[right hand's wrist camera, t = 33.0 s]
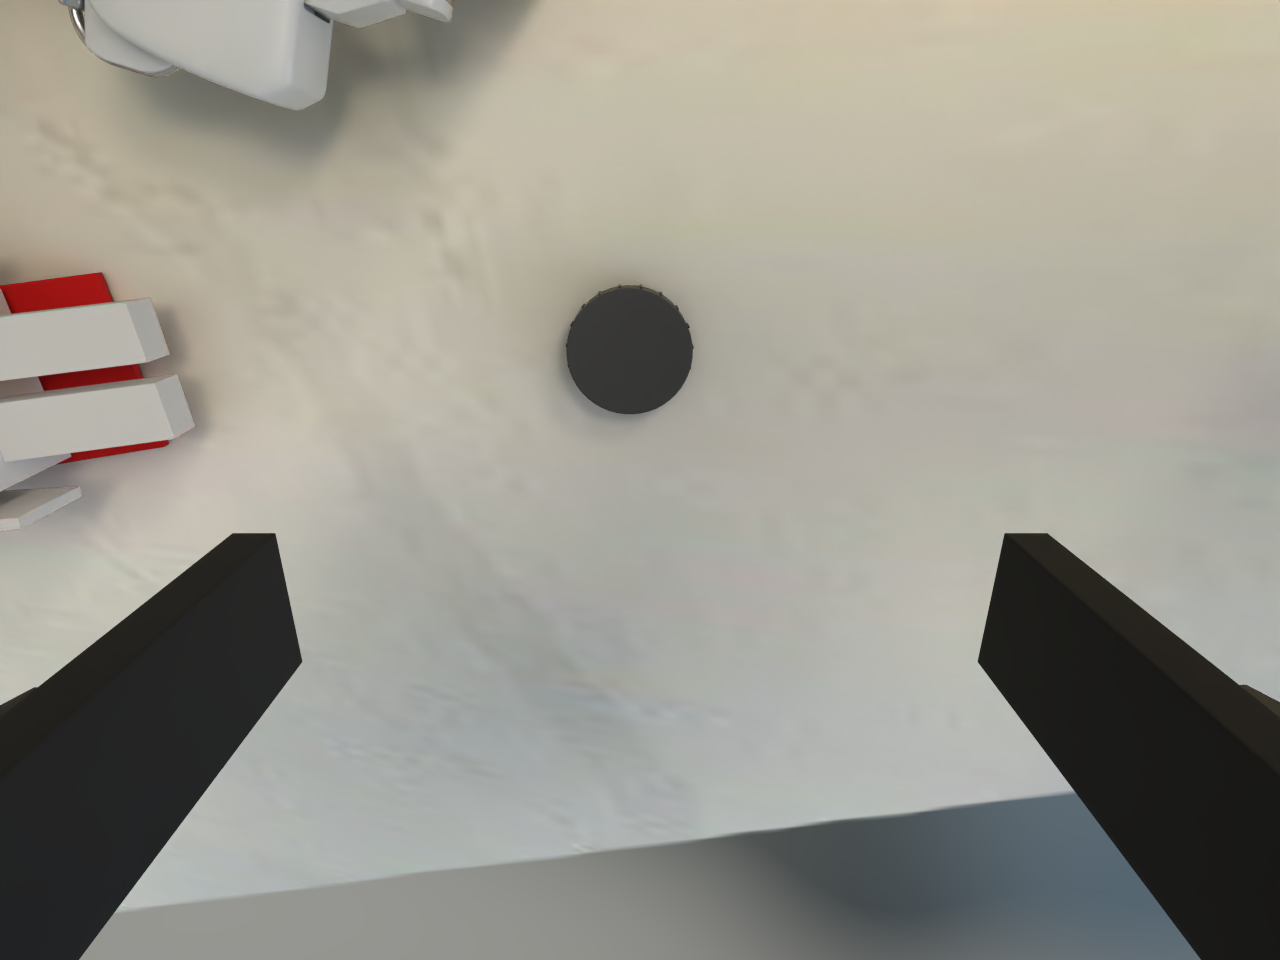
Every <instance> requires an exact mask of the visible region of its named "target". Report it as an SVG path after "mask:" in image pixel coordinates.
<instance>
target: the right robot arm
mask: <svg viewBox="0 0 1280 960" xmlns="http://www.w3.org/2000/svg"><path fill="white" fill-rule="evenodd" d="M301 663H302V658H301V653H300V648H299V644H298V639H297V634H296V629H295V625H294V620H293V615H292V610H291V606H290V601H289V596H288V591H287V587H286V582H285V577H284V572H283V568H282V563H281V558H280V553H279V549H278V544H277V539H276V534H275V533H233V534H231V535H230V536H229V537H228V538H226V539H225V540H224V541H222V542H221V543H220V544H219V545H217V546H216V547H215V548H214V549H212V550H211V551H210V552H209V553H207V554H206V555H205V556H204V557H202V558H201V559H200V560H198V561H197V562H196V563H195V564H193V565H192V566H191V567H190V568H188V569H187V570H186V571H185V572H183V573H182V574H181V575H179V576H178V577H177V578H176V579H174V580H173V581H172V582H171V583H169V584H168V585H167V586H166V587H164V588H163V589H162V590H161V591H159V592H158V593H157V594H155V595H154V596H153V597H152V598H150V599H149V600H148V601H147V602H145V603H144V604H143V605H142V606H140V607H139V608H138V609H136V610H135V611H134V612H133V613H131V614H130V615H129V616H128V617H126V618H125V619H124V620H123V621H121V622H120V623H119V624H118V625H116V626H115V627H114V628H112V629H111V630H110V631H109V632H107V633H106V634H105V635H104V636H102V637H101V638H100V639H99V640H97V641H96V642H95V643H93V644H92V645H91V646H90V647H88V648H87V649H86V650H85V651H83V652H82V653H81V654H80V655H78V656H77V657H76V658H74V659H73V660H72V661H71V662H69V663H68V664H67V665H66V666H64V667H63V668H62V669H61V670H59V671H58V672H57V673H56V674H54V675H53V676H52V677H50V678H49V679H48V680H47V681H45V682H44V683H43V684H42V685H40V686H39V687H34V688H32V689H30V690H29V691H27V692H25V693H23V694H21V695H19V696H17V697H15V698H13V699H11V700H10V701H8V702H6V703H4V704H2V705H0V960H79V959H80V957H81V956H82V955H83V953H84V952H85V951H86V949H87V948H88V947H89V945H90V944H91V943H92V941H93V940H94V939H95V937H96V936H97V935H98V933H99V932H100V931H101V929H102V928H103V927H104V925H105V924H106V923H107V921H108V920H109V919H110V917H111V916H112V915H113V913H114V912H115V911H116V909H117V908H118V907H119V905H120V904H121V903H122V901H123V900H124V899H125V897H126V896H127V895H128V893H129V892H130V891H131V889H132V888H133V887H134V885H135V884H136V883H137V881H138V880H139V879H140V877H141V876H142V875H143V873H144V872H145V871H146V869H147V868H148V867H149V865H150V864H151V863H152V861H153V860H154V859H155V857H156V856H157V855H158V853H159V852H160V851H161V849H162V848H163V847H164V845H165V844H166V843H167V841H168V840H169V839H170V837H171V836H172V835H173V833H174V832H175V831H176V829H177V828H178V827H179V825H180V824H181V823H182V821H183V820H184V819H185V817H186V816H187V815H188V813H189V812H190V811H191V809H192V808H193V807H194V805H195V804H196V803H197V801H198V800H199V799H200V797H201V796H202V795H203V793H204V792H205V791H206V789H207V788H208V787H209V785H210V784H211V783H212V781H213V780H214V779H215V777H216V776H217V775H218V773H219V772H220V771H221V769H222V768H223V767H224V765H225V764H226V763H227V761H228V760H229V759H230V757H231V756H232V755H233V753H234V752H235V751H236V749H237V748H238V747H239V745H240V744H241V743H242V741H243V740H244V739H245V737H246V736H247V735H248V733H249V732H250V731H251V729H252V728H253V727H254V725H255V724H256V723H257V721H258V720H259V719H260V717H261V716H262V715H263V713H264V712H265V711H266V709H267V708H268V707H269V705H270V704H271V703H272V701H273V700H274V699H275V697H276V696H277V695H278V693H279V692H280V691H281V689H282V688H283V687H284V685H285V684H286V683H287V681H288V680H289V679H290V677H291V676H292V675H293V673H294V672H295V671H296V669H297V668H298V667H299V665H300V664H301ZM978 663H979V664H980V665H981V667H982V668H983V669H984V671H985V672H986V673H987V675H988V676H989V677H990V679H991V680H992V681H993V683H994V684H995V685H996V687H997V688H998V689H999V691H1000V692H1001V693H1002V695H1003V696H1004V697H1005V699H1006V700H1007V701H1008V703H1009V704H1010V705H1011V707H1012V708H1013V709H1014V711H1015V712H1016V713H1017V715H1018V716H1019V717H1020V719H1021V720H1022V721H1023V723H1024V724H1025V725H1026V727H1027V728H1028V729H1029V731H1030V732H1031V733H1032V735H1033V736H1034V737H1035V739H1036V740H1037V741H1038V743H1039V744H1040V745H1041V747H1042V748H1043V749H1044V751H1045V752H1046V753H1047V755H1048V756H1049V757H1050V759H1051V760H1052V761H1053V763H1054V764H1055V765H1056V767H1057V768H1058V769H1059V771H1060V772H1061V773H1062V775H1063V776H1064V777H1065V779H1066V780H1067V781H1068V783H1069V784H1070V785H1071V787H1072V788H1073V789H1074V791H1075V792H1076V793H1077V795H1078V796H1079V797H1080V799H1081V800H1082V801H1083V803H1084V804H1085V805H1086V807H1087V808H1088V809H1089V811H1090V812H1091V813H1092V815H1093V816H1094V817H1095V819H1096V820H1097V821H1098V823H1099V824H1100V825H1101V827H1102V828H1103V829H1104V831H1105V832H1106V833H1107V835H1108V836H1109V837H1110V839H1111V840H1112V841H1113V843H1114V844H1115V845H1116V847H1117V848H1118V849H1119V851H1120V852H1121V853H1122V855H1123V856H1124V857H1125V859H1126V860H1127V861H1128V863H1129V864H1130V865H1131V867H1132V868H1133V869H1134V871H1135V872H1136V873H1137V875H1138V876H1139V877H1140V879H1141V880H1142V881H1143V883H1144V884H1145V885H1146V887H1147V888H1148V889H1149V891H1150V892H1151V893H1152V895H1153V896H1154V897H1155V899H1156V900H1157V901H1158V903H1159V904H1160V905H1161V907H1162V908H1163V909H1164V911H1165V912H1166V913H1167V915H1168V916H1169V917H1170V919H1171V920H1172V921H1173V923H1174V924H1175V925H1176V927H1177V928H1178V929H1179V931H1180V932H1181V933H1182V935H1183V936H1184V937H1185V939H1186V940H1187V941H1188V943H1189V944H1190V945H1191V947H1192V948H1193V949H1194V951H1195V952H1196V953H1197V955H1198V956H1199V957H1200V959H1201V960H1280V702H1278V701H1276V700H1274V699H1272V698H1270V697H1269V696H1267V695H1265V694H1263V693H1261V692H1259V691H1257V690H1255V689H1253V688H1251V687H1249V686H1248V685H1238V684H1237V683H1236V682H1235V681H1233V680H1232V679H1231V678H1230V677H1228V676H1227V675H1226V674H1224V673H1223V672H1222V671H1221V670H1219V669H1218V668H1217V667H1216V666H1214V665H1213V664H1212V663H1211V662H1209V661H1208V660H1207V659H1205V658H1204V657H1203V656H1202V655H1200V654H1199V653H1198V652H1197V651H1195V650H1194V649H1193V648H1192V647H1190V646H1189V645H1188V644H1187V643H1185V642H1184V641H1183V640H1181V639H1180V638H1179V637H1178V636H1176V635H1175V634H1174V633H1173V632H1171V631H1170V630H1169V629H1168V628H1166V627H1165V626H1164V625H1162V624H1161V623H1160V622H1159V621H1157V620H1156V619H1155V618H1154V617H1152V616H1151V615H1150V614H1149V613H1147V612H1146V611H1145V610H1144V609H1142V608H1141V607H1140V606H1138V605H1137V604H1136V603H1135V602H1133V601H1132V600H1131V599H1130V598H1128V597H1127V596H1126V595H1125V594H1123V593H1122V592H1121V591H1119V590H1118V589H1117V588H1116V587H1114V586H1113V585H1112V584H1111V583H1109V582H1108V581H1107V580H1106V579H1104V578H1103V577H1102V576H1101V575H1099V574H1098V573H1097V572H1095V571H1094V570H1093V569H1092V568H1090V567H1089V566H1088V565H1087V564H1085V563H1084V562H1083V561H1082V560H1080V559H1079V558H1078V557H1076V556H1075V555H1074V554H1073V553H1071V552H1070V551H1069V550H1068V549H1066V548H1065V547H1064V546H1063V545H1061V544H1060V543H1059V542H1058V541H1056V540H1055V539H1054V538H1052V537H1051V536H1050V535H1049V534H1047V533H1005V534H1004V539H1003V544H1002V549H1001V553H1000V558H999V563H998V568H997V572H996V577H995V582H994V587H993V591H992V596H991V601H990V606H989V610H988V615H987V620H986V625H985V629H984V634H983V639H982V644H981V648H980V653H979V658H978Z"/></svg>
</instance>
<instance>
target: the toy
mask: <svg viewBox="0 0 1280 960" xmlns="http://www.w3.org/2000/svg"><path fill="white" fill-rule="evenodd" d="M167 355H170V352H169V349H168V347H167V344H166V341H165V338H164V335H163V332H162V329H161V327H160V324H159V321H158V318H157V315H156V312H155V309H154V306H153V304H152V301H151V298H143V299H135V300H126V301H117V302H113V300H112V297H111V295H110V292H109V290H108V287H107V285H106V282H105V280H104V277H103V275H102V272H101V273H93V274H85V275H78V276H70V277H63V278H55V279H48V280H40V281H32V282H25V283H17V284H10V285H2V286H0V530H14V529H22V528H24V527H26V526H28V525H30V524H32V523H33V522H35V521H37V520H39V519H41V518H43V517H45V516H46V515H48V514H50V513H52V512H54V511H56V510H58V509H59V508H61V507H63V506H65V505H67V504H69V503H71V502H72V501H74V500H76V499H78V498H80V497H82V493H81V490H80V487H79V486H75V487H58V488H42V489H26V490H9V491H3V490H5V489H7V488H9V487H11V486H13V485H15V484H17V483H19V482H21V481H23V480H25V479H27V478H29V477H31V476H33V475H35V474H37V473H39V472H41V471H43V470H45V469H47V468H49V467H51V466H53V465H55V464H61V463H68V462H74V461H80V460H86V459H92V458H98V457H104V456H110V455H116V454H123V453H129V452H135V451H141V450H147V449H153V448H159V447H165V446H166V445H168V444H169V442H168V440H170V439H175V438H177V437H179V436H180V435H182V434H184V433H185V432H187V431H189V430H191V429H192V428H194V427H195V424H194V421H193V418H192V415H191V413H190V410H189V407H188V404H187V401H186V398H185V395H184V393H183V390H182V387H181V384H180V381H179V378H178V375H177V374H174V375H166V376H158V377H150V378H143V376H142V374H141V371H140V369H139V366H138V364H139V363H147V362H150V361H153V360H156V359H159V358H161V357H164V356H167Z"/></svg>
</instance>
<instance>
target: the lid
mask: <svg viewBox="0 0 1280 960" xmlns="http://www.w3.org/2000/svg"><path fill="white" fill-rule="evenodd" d="M581 308H582V309H581V311H580V312H579V314H578V315H577V317H576V319H575V321H573V322H572V323H571V325H570V326H572V327H571V330H570V332H569V336H568V341H567V344H566V347H567V361H568V367H569V369H570V373H571V375H572V377H573V380H574V381H575V383H576V385H577V386H578V388H579V389H580V390H581V392H582V393H583V394H584V395H585V396H586V397H587V398H588V399H589V400H591V401H592V402H593V403H595V404H596V405H598V406H600V407H602V408H604V409H606V410H609V411H612V412H616V413H621V414H639V413H644V412H648V411H651V410H654V409H656V408H658V407H660V406H662V405H663V404H665V403H666V402H668V401H669V400H670V399H671V398H672V397H673V396H675V395H676V393H677V392H678V391H679V390H680V389H681V387H682V386H683V384H684V382H685V380H686V378H687V376H688V374H689V371H690V369H691V363H692V353H693V348H694V347H693V344H692V340H691V336H690V332H689V329H688V328H690V327H689V325H688V323H686V322H685V320H684V318H683V316H682V314H681V313H680V312H679V308H678V306H677V305H676V306H675V305H674V304H673V303H672V302H671V301H670V300H668V299H667V298H666V297H665V296H663V295H662V293H661V292H660V293H658V292H656V291H654V290H651V289H648V288H645V287H642V285H640V286H630V285H626V286H621V284H620V285H619V286H618V287H614V288H610V289H608V290H606V291H603V292H601V291H600V292H599V293H598V295H596V296H595V297H593V298H592V299H591V300H590V301H589V302H588V303H587V304H586V305H585V304H583V306H582V307H581Z"/></svg>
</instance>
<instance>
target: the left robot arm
mask: <svg viewBox="0 0 1280 960" xmlns="http://www.w3.org/2000/svg"><path fill="white" fill-rule="evenodd" d="M58 1H59V3H60V4H62V5H65V6H68V8H69V13H70V17H71V21H72V24H73V26H74V28H75V30H76V32H77V34H78V36H79V37H80V39H81V40H82V41H83V43H84V44H85V45H86V47H87V48H88V49H89V50H90V51H91V52H92V53H93V54H94V55H96V56H97V57H98V58H100V59H101V60H103V61H105V62H106V63H108V64H110V65H113V66H116V67H120V68H123V69H126V70H129V71H133V72H136V73H139V74H143V75H146V76H150V77H164V76H168V75H171V74H173V73H175V72H177V71H178V70H180V69H183V70H185V71H187V72H190V73H192V74H194V75H197V76H199V77H201V78H204V79H206V80H208V81H211V82H213V83H216V84H218V85H221V86H224V87H226V88H229V89H232V90H234V91H237V92H240V93H242V94H245V95H248V96H251V97H254V98H257V99H260V100H263V101H265V102H268V103H271V104H274V105H278V106H281V107H284V108H288V109H292V110H297V111H299V110H302V109H304V108H306V107H308V106H310V105H312V104H314V103H316V102H318V101H320V100H321V99H322V98H323V97H324V95H325V92H326V86H327V76H328V67H329V58H330V48H331V39H332V30H333V20H334V21H337V22H340V23H344V24H347V25H350V26H353V27H356V28H360V29H361V28H364V27H367V26H370V25H373V24H376V23H379V22H382V21H385V20H388V19H391V18H394V17H397V16H400V15H403V14H406V11H407V10H409V11H412V12H415V13H418V14H421V15H424V16H427V17H431V18H434V19H437V20H440V21H443V22H451V18H452V11H453V6H454V0H58ZM82 11H83V12H85V21H84V17H83V13H82Z"/></svg>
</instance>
